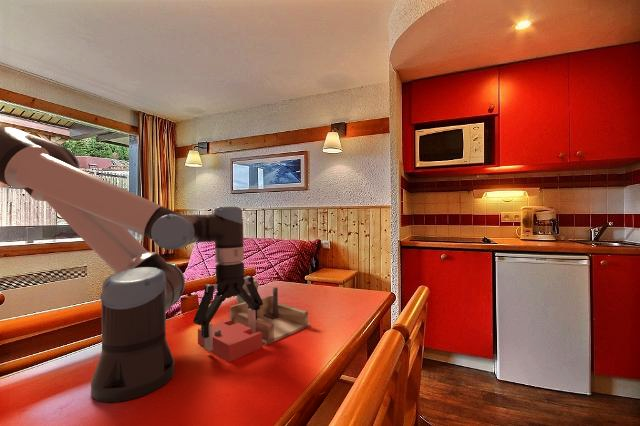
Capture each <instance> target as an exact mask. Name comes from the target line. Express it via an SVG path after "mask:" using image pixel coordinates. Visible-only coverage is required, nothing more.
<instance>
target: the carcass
mask: <svg viewBox="0 0 640 426" xmlns="http://www.w3.org/2000/svg"><path fill="white" fill-rule="evenodd" d="M278 294H279V293H278V287H277V286H275V287H272V294H270V295H266V296H263V297H261V300H262V302H263V305H262V306H260V309H259V310H257V320H256V332H262V345H265V346H267V345H269V344H272V343H274V342H276V341H279V340H281V339H284V338H286V337H288V336H291V335H293V334H295V333H297V332H300V331H301V330H302V331H303V330H305V329H307V328H308V327H311V323H310V322H309V310H307V309H306V310H305V309H303V308H302V309H301V308H299V307H295V306H291V305H288V304H285V303H282V302H279V301H278V298H279V297H278ZM248 295H249V296H250V297H251V294H248ZM251 298H252V297H251ZM252 300H253V299H252ZM248 309H251V308H250V307H249V305H248V304H247V303H246V302H244V303H240V304H238V303H237V304H233V305H230V306H229V319H231V320H232V325H233V324H236V323H240V324H243V325H245V326H247V327H248ZM252 334H253V333H252Z"/></svg>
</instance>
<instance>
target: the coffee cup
mask: <svg viewBox="0 0 640 426" xmlns="http://www.w3.org/2000/svg"><path fill="white" fill-rule="evenodd" d="M253 279H254V285H255V287H256V289H257V291H259V290H258V288H259V286H260V284H259V281H258V279H256V278H253ZM243 289H244V290H245V291H246V293H247V294H250V292H249V290H248V288H247V286H246V284H245V283H244V285H243ZM236 300H237V302H236V303H237V304H240V303H244V302H245V301H244V300H243V299H242V298H241V297H240V296H239V295H238V296H236Z"/></svg>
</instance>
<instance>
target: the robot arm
mask: <svg viewBox="0 0 640 426" xmlns="http://www.w3.org/2000/svg"><path fill="white" fill-rule="evenodd" d="M80 167H81V166H80V162H79V160H78V158H77V156H76V155H75V154H74V153H73V152H72V151H71V150H70V149H68V148H66V147H65V146H63V145H62V144H60V143H57V142H55V141H52V140H49V139H45V138H42V137H39V136H36V135H34V134H32V133H31V134H30V133H28V132H25V131H23V130H20V129H18V128H14V127H11V126H10V127H8V126H1V125H0V183H1V184H4V185H7V186H9V187H13V188H15V189H23V190H24V191H25V192H26V193H27V194H28V195H29V196H30V197H31V198H32V199H33V200H35V201H39V202H46V203H47V204H48V205H49V206H50V207H51V208H52V209H53V210H54V211H55V212H56V213H57V214H58V215H59V216H60V217H61V218H62V219H63V221H64V222H66V223H67V225H69V227H70V228H71V229H73V231H74V232H75V233H76V234H77V235H78V236H79V237H80V238H81V239H82V240H83V241H84V242H85V243H86V245H88V247H89V248H90V249H92V250H93V252H94V253H96V255H98V257H99V258H100V259H101V260H102V261H103V262H104V263H105V264H106V265H107V266H108V267H109V268H110V269H111V270H112V271H113V272H114V273H112V274H111V275H109V276H108V277H107V278H106V279H105V280H104V281H103V283H102V286H101V294H100V302H101V353H100V356H99V359H98V362H97V365H96V367H95V371H94V373H93V375H92V379H91V381H90V395H91V397H92V398H93V400H95V401H98V402H102V403H118V402H124V401H125V402H126V401H130V400H134V399H137V398H140V397H143V396H146V395H147V394H148V395H149V394H151V393H153V392H154V391H156V390H158V389H160V388H162V387H163V386H165V385H166V384H167V383H169V381H171V379H173V377H174V375H175V371H176V370H175V360H174V356H173V353H172V351H171V349H170V346H169V344H168V341H167V338H166V337H167V335H166V333H167V332H166V331H167V330H166V329H167V328H166V325H167V324H166V323H167V322H166V320H167V319H166V317H167V316H166V313H167V312H168V311H169V310H170V309H171V308H172V307H173V306H174V305H175V304H176V303H177V302H178V301H179V300H180V298H182V295H183V292H184V290H185V286H186V280H185V275H184V274H183V271H182V270H181V269H180V268H179V267H178V266H177V265H174V264H172V263H169V262H166V260H165V259H164V258H163V257H162V256H161V255H160V254H159V253H158V252H156V251H155V252H154V251H148V250H147V249H146V248H145V247H144V246H143V245H142V243H140V241H138V239H137V238H135V236H134V235H133V234H132V233H131V232H130V231H132V232H133V233H136V234H139V235H140V236H144V237H146V238H148V239H149V240H152V241H153V242H154V243H155V245H157V246H158V247H159V248H161V249H164V250H171V251H172V250H180V249H183V248H185V247H187V246H188V245H192V244H196V243H197V244H198V243H212V242H214V248H215V249H214V252H215V253H214V255H215V256H214V261H215V263H217V264H215V277H216V282H215V283H214V284H209V283H206V284H205V285H204V291H203V295H202V298H201V300H200V303H199V306H198V308H197V310H196V313H195V314H194V315H195V316H194V317H193V320H192V323H194V324H195V325H198V326H201V327H200V328H201V336H202V337H203V338H205V347H204V349H205V350H207V351H209V352H212V350H213V332H212V323H211V321H212V320H213V318H214V317H215V315H216V313H217V312H218V310H219V309H220V306H221V305H222V303H223V302H224V301H225V300H226V299H231V298H232V297H237V296H238V295H239V296H240V297H241V298H242V299H243V300H244V301H245V302H246V303H247V304H248V305H249V307H250V308H251V309H248V327H250V328H252V333H256V320H257V310H259V309H260V306H262V305H263V302H262V300H261V298H262V297H261V296H260V294H259V292H258V291H259V290H258V291H257V289H256V287H255V285H254V279H255V278H254V277H253V276H250V275H246V276H245V263H244V262H243V261H244V260H245V254H244V253H245V252H244V251H245V250H244V248H245V247H244V220H243V219H244V217H243V210H242V208H241V207H239V206H217V207H215V208H214V209H213V210H214V211H213V213H211V214H181V213H179V212H176V211H175V210H172V209H170V208H167V207H165V206H162V205H160V204H158V203H157V202H153V201H152V200H149V199H148V198H147V199H146V198H145V197H142V196H140V195H137V193H133V192H131V191H129V190H127V189H125V188H122V187H120V186H118V185H116V184H113V183H111V182H109V181H107V180H104V179H102V178H100V177H97V176H95V175H93V174H90V173H88V172H86V171H84V170H81V169H80ZM244 283H245V284H246V286H247V288H248V290H249V292H250V294H251V297H252V298H251V297H250V296H249V295H248V294H247V293H246V291H245V290H244V289H243V285H244ZM216 290H217V292H216ZM215 292H216V293H215ZM214 293H215V294H214ZM213 297H214V298H213ZM212 299H213V300H212ZM252 299H253V300H252Z"/></svg>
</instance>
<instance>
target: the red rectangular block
mask: <svg viewBox="0 0 640 426" xmlns="http://www.w3.org/2000/svg"><path fill="white" fill-rule="evenodd" d="M211 324H212V323H211ZM212 332H213V350H212V351H211V352H212V353H213V354H214V355H217V356H218V357H220V358H222V359H223V360H225V361H227V362H229V363H230V362H232V361H235V360H238V359H239V358H241V357H244V356H246V355H249V354H251V353H253V352H256V351H258V350H260V349H263V344H262V332H256V333H253V334H252V328H250V327H247V326H245V325H243V324H240V323H236V324H233V325H232V320H231V319H230V318H228V319H225V320H222V321H220V322H216V323H213V324H212ZM197 344H198V345H199V346H201V347H203V348H205V338H203V337H202V336H201V327H199V328H197Z"/></svg>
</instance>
